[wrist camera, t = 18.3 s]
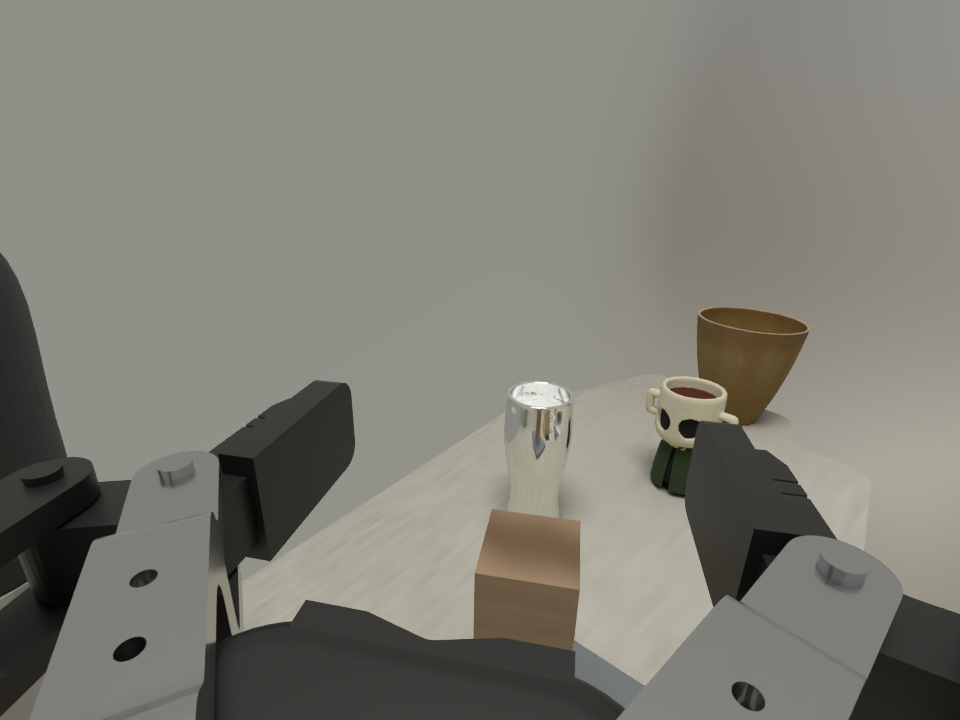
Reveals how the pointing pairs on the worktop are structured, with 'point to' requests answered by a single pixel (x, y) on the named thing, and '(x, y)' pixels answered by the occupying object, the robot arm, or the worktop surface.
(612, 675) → the blue-grey flat slab
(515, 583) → the walnut block
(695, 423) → the character mug
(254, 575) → the worktop surface
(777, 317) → the plant pot
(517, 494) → the beer glass
